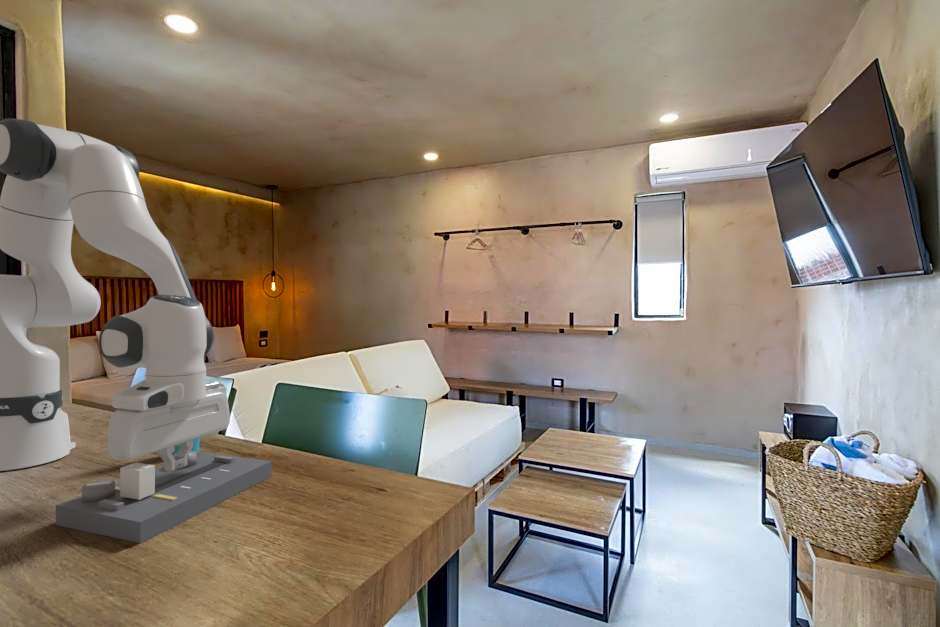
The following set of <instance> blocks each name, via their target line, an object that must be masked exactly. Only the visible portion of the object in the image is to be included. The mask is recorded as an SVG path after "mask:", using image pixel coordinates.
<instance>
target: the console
mask: <svg viewBox="0 0 940 627" xmlns="http://www.w3.org/2000/svg"><path fill="white" fill-rule="evenodd" d="M172 455H173V457H177V453H176V454H173V453H172ZM272 463H273V461H272V460H266V459H258V458H257V459H256V458H252V457H251V458H249V457H243V456H236V455H235V456H234V455H228V454H220V453H214V452H213V453H212V452H206V451H205V452H204V451H202V452H198V453H197V454H196V452H194V451H190V453H189V455H188V456H187V466H185V467H183V468H180V469H177V470H175V471H172V472H166V471H165V470H164V465H163V466H161V467H157V468H155V493H154V494H152V495H150V496H147V497H145V498H142V499H140V500H138V499H132V498H127V497H121V496H120V481H119V482H116V481H115V480H114V479H100V480H95V481H91V482H89V483H86V484H84V485H82V487H81V495H80V496H77V497H74V498H72V499H70V500H66V501H63V502H61V503H58V504H55V526H58V527H63V528H69V529H72V530H77V531H82V532H86V533H87V532H88V533H91V534H96V535H99V536H100V535H101V536H104V537H105V536H106V537H109V538H114V539H119V540H124V541H128V542H133V543H138V544H142V543H144V542H146V541H148V540H150V539H152V538H154V537H155V536H158V535H160V534H162V533H163V532H166V531H168V530H169V529H171V528H174V527H175V526H177V525H179V524H181V523H183V522H185V521H186V520H187V521H188V520H189V519H191V518H192V517H195V516H197V515H199V514H201V513H202V512H205V511H206V510H209V509H211V508H212V507H214V506H216V505H218V504H220V503H222V502H225V501H226V500H228V499H230V498H232V497H234V496H236V495H238V494H240V493H242V492H244V491H245V490H247V489H249V488H252V487H254V486H256V485H257V484H260V483H261V482H264V481H265V480H267V479H269V478H270V477H272V465H273V464H272Z"/></svg>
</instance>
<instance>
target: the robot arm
mask: <svg viewBox="0 0 940 627" xmlns="http://www.w3.org/2000/svg"><path fill="white" fill-rule="evenodd" d="M0 172H1V173H3V174H5V175H6V176H5V180H4V183H3V186H2V189H1V194H0V250H1V251H2V252H3V253H5V254H7V255H8V256H10V257H12V258H14V259H15V260H19V261H20V262H23V263H26V264H27V265H28V267H29V268H28V269H29V270H28V274H26V275H18V274H17V275H16V274H0V472H3V471H12V470H19V469H24V468H30V467H34V466H39V465H43V464H47V463H50V462H53V461H56V460H59V459H62V458H64V457H66V456H67V455H69V454H70V453H71V451H72V450H73V449H75V448H77V447H76V446H77V445H76V441H71V436H70V435H71V434H70V433H71V432H70V425H69V424H70V423H69V416H68V413H66V411H63V409H62V407H63V402H64V401H63V400H64V395H63V390H62V389H61V387H60V386H61V385H60V384H61V383H60V382H61V381H60V380H61V369H60V368H61V360H60V356H59V355H58V354H57V352H55V351H54V350H53V349H51V348H49V347H47V346H45V345H42V344H39V343H35V342H31V341H30V340H29V339H28V338H27V336H26V334H25V329H28V328H54V327H55V328H56V327H57V328H59V327H60V328H61V327H64V328H65V327H68V326H75V325H81V324H85V323H89V322H91V321H92V320H93V319H95V318H96V317H97V315H98V313H100V312H99V311H100V310H101V304H102V303H101V302H102V301H101V296H100V293H99V291H98V290H97V288H95V286H94V285H93V284H92V283H91V282H89V281H88V280H87V279H85V278H84V277H83V276H82V275H81V274H80V273H79V272H78V270H77V268H76V266H75V264H74V261H73V258H72V239H73V230H74V226H75V228H76V230H77V233H78V234H79V235H80V237H81V238H82V239H83V240H84V241H85V242H87V244H89V245H91V247H93V248H95V249H96V250H99V251H100V252H103V253H105V254H108V255H109V256H113V257H115V258H118V259H120V260H123V261H126V262H128V263H129V264H132V265H134V267H137V268H139V269H140V270H142V271H143V272H144V273H146V274H147V276H149V277H150V278H151V280H152V282H153V284H154V286H155V288H156V290H157V293H158V295H154V296H151V297H150V298H149V299H148V301H147V302H146V304H145V305H143V306H142V307H140V308H138V309H136V310H134V311H133V310H132V311H130V312H127V313H124V314H121V315H115V316H113V317H111V318H110V319H109V320H108V321H107V322H106V323H105V324H104V326H103V327H102V329H101V330H100V333H99V339H98V346H99V351H100V354H101V355H102V357H103V358H104V360H106V362H108V364H110V365H112V366H114V367H116V368H124V369H137V368H145V373H144V379H143V380H141V381H139V382H137V383H136V384H134V385H132V386H131V387H128V388H125V389H123V390H122V391H120V392H117V393H116V394H114V395H113V396H112V398H111V405H112V407H113V408H115V409H117V410H115V411H114V412H113V413H112V415H111V416H110V419H109V421H108V429H107V446H106V451H107V453H108V455H109V456H110V457H111V458H112V459H114V460H118V461H131V460H135V459H138V458H140V457H143V456H147V455H149V454H153V453H156V452H157V454H158V456H159V457H160V458H161V460H162V461H163V466H164V470H165V471H166V472H172V471H175V470H177V469H180V468H183V467H185V466H187V456H188V455H189V453H190V451H191V449H192V447H193V445H194V439H197V438H200V439H201V438H203V437H205V436H209V435H211V434H215V433H218V432H220V431H224V430H227V428H229V427H228V426H229V425H230V422H231V417H230V416H231V414H230V405H229V400H228V397H227V388H226V386H225V385H224V384H223V383H221V382H220V381H214V382H211V383H207V372H206V368H207V367H206V363H205V358H206V356H207V355H208V354H209V353H210V351H211V349H212V347H213V345H214V342H215V332H214V328H213V326H212V324H211V323H210V321H209V319H208V318H207V316H206V313H205V310H204V306H203V304H202V303H201V301H199V300H197V297H196V295H195V292H194V290H193V287H192V284H191V282H190V279H189V277H188V275H187V272H186V270H185V268H184V265H183V263H182V261H181V259H180V256H179V254H178V251H177V250H176V249H175V247H174V245H173V243H172V242H171V241H170V240H169V239H168V238H167V237H166V236H164V235H163V233H162V232H161V231H160V229H159V228H158V226H157V225H156V224H155V222H154V219H153V218H152V217H151V215H150V212H149V210H148V207H147V203H146V198H145V196H144V192H143V189H142V187H141V184H140V181H139V178H140V167H139V164H138V160H137V159H136V157H135V155H134V154H133V153H132V152H130V151H129V150H127V149H125V148H123V147H122V146H120V145H117V144H115V143H112V142H106V141H103V140H101V139H100V138H99V139H98V138H95V137H94V136H93V137H92V136H91V135H90V136H89V135H87V134H84V133H80V132H78V131H70V130H66V129H64V128H58V127H55V126H50V125H44V124H40V123H39V124H38V123H36V122H34V121H32V120H27V119H20V118H4V119H2V120H0ZM175 445H178V446H180V448H179V451H178V453H177V457H173V452H174V450H175Z"/></svg>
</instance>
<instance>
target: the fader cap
mask: <svg viewBox="0 0 940 627" xmlns="http://www.w3.org/2000/svg"><path fill="white" fill-rule="evenodd" d="M155 469H156V465H155V464H148V463H142V462H134V463H130V464H128V465H125V466H121V467H119V473H120V474H119V482H120V496H121V497H127V498H132V499H138V500H140V499H142V498H145V497H147V496H150V495H152V494H154V493H155Z"/></svg>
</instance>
